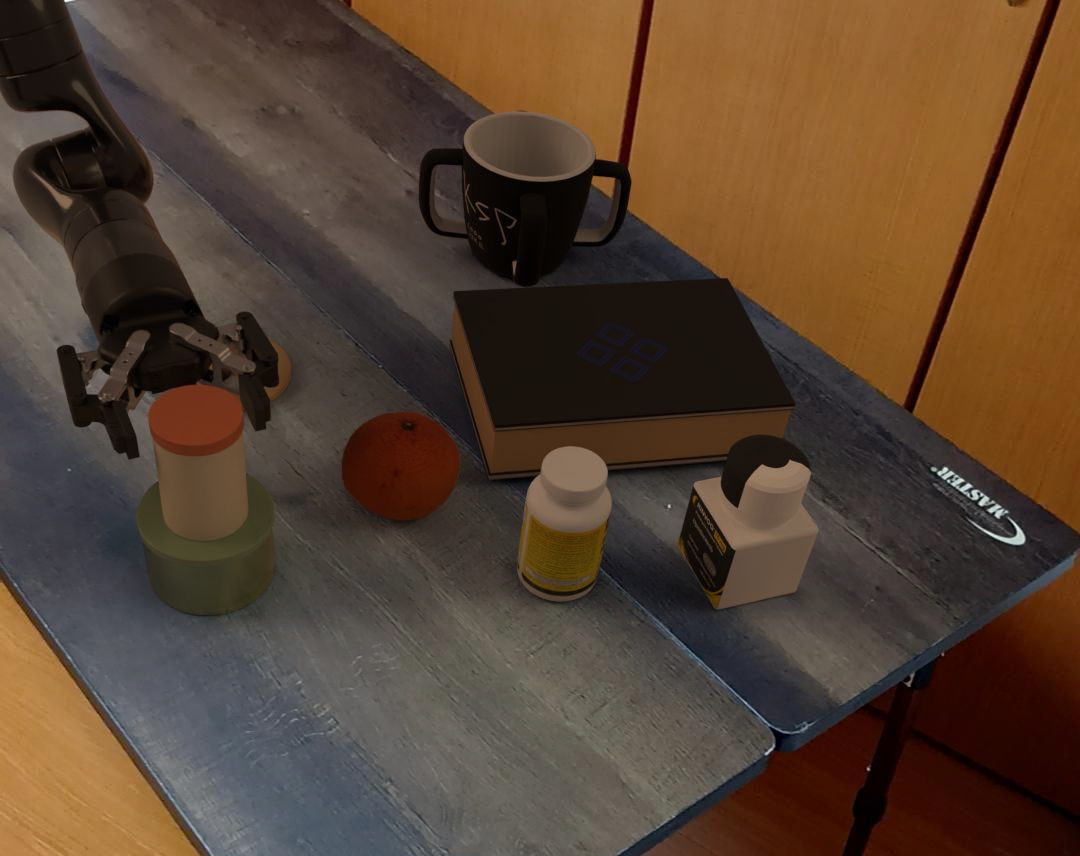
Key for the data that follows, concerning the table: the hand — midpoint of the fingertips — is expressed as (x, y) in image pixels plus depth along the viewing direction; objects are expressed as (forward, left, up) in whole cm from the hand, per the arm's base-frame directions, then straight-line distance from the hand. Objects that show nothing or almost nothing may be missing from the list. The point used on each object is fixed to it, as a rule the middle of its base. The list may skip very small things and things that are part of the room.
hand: (198, 435), depth 87 cm
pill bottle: (+25, -5, -13) cm, 29 cm away
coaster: (+4, +22, -13) cm, 26 cm away
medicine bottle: (+39, -7, -13) cm, 42 cm away
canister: (0, 0, -7) cm, 7 cm away
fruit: (+15, +5, -13) cm, 21 cm away
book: (+35, +13, -13) cm, 40 cm away
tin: (0, 0, -13) cm, 13 cm away
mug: (+33, +36, -13) cm, 50 cm away
